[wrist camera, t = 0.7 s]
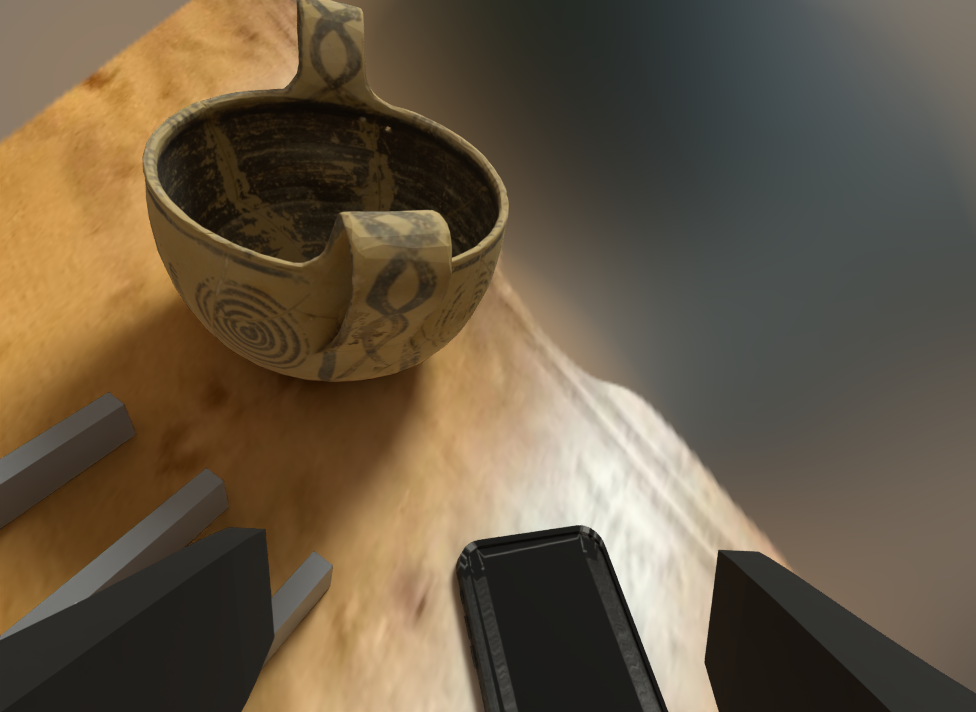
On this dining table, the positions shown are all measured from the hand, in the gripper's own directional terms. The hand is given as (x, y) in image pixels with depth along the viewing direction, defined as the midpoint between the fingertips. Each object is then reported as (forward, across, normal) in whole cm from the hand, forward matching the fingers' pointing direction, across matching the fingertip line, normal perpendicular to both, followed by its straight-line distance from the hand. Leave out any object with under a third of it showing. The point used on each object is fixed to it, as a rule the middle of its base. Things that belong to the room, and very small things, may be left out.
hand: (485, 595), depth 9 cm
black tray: (+12, -3, +15) cm, 19 cm away
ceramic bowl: (+25, +11, 0) cm, 28 cm away
